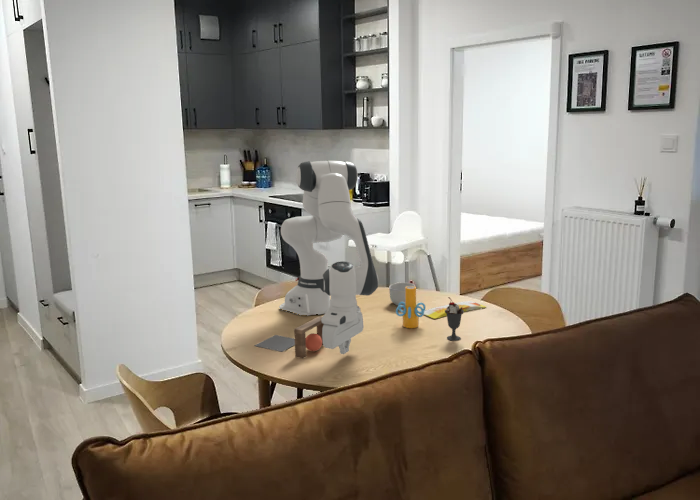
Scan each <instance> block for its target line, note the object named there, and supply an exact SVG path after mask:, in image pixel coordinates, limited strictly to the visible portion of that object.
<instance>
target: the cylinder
mask: <svg viewBox="0 0 700 500" xmlns="http://www.w3.org/2000/svg"><path fill="white" fill-rule="evenodd" d="M401 304H404V306H403V305H401ZM421 305H422V306H421ZM402 308H403V309H402ZM418 309H420V311H419V310H418ZM425 310H426V304H425V303H424V302H418V303H417V287H416V285H415V286H407V287H405V303H404V302H400V303H399V304H398V305H397V307H396V309H395V314H396V315H397V316H398V317H402V326H403V327H404V328H406V329H415V328H418V327H419V326H420V325H419V324H420V323H419V321H420V320H419V318H422V317H423V316H425V315H424V311H425ZM399 311H400V312H401V314H400V313H399Z"/></svg>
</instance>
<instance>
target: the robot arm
mask: <svg viewBox="0 0 700 500" xmlns="http://www.w3.org/2000/svg"><path fill="white" fill-rule="evenodd" d="M358 176H359V174H358V170H357V167H356V165H355V164H354V163H353V162H351V161H348V160H347V161H345V160H344V161H341V160H317V161H304V162H303V161H302V162H301V163H300V164H298V166H297V169H296V172H295V180H296V183H297V186H298V188H299V189H301V191H303V197H302V207H303V209H304V210H305V212H307V213H308V214H309V215H303V216H295V217H294V216H293V217H291V218H287V219H285V220H284V221H283V222H282V224H281V227H280V235H281V237H282V240H283V241H284V242H285V243H287V244H288V245H289V246H290V247H292V249H294V251H295V252H296V254H297V256H298V260H299V261H298V262H299V267H300V268H299V270H300V275H299V276H298V277H297V278H296V277H295V282H297V284H296V285H295V286H294V287H293V288H291V289H290V290H289V291H288V292H286V294H285V296H284V302H283V303H281V304H280V305H279V307H278V309H279V308H280V309H283V310H287V311H290V312H294V313H297V314H296V315H298V314H300V315H299V316H301V315H307V316H313V315H316V314H318V315H323V316H321V317H322V319H321V321H322V323H323V324H324V325H323V328H322V340H323V345H324V346H323V345H322V346H323V347H324V348H325V349H329V350H333V349H336V348H337V347H338V348H339V353H340V355H345V354H347V353H349V352H350V345H351V342H352V338H354V337H356V336H357V335H359V334H360V333H362V332H363V331H364V317H363V312H362V310H361V307H360V306H359V305H358V301H357V297H356V296H358V295H359V296H371V295H372V294H374V293H375V292H376V290H377V289H378V287H379V276H378V273H377V272H376V267H375V265H374V262H373V258H372V253H371V250H370V246H369V242H368V237H367V235H366V230H365V227H364V224H363V223H362V220H361V219H359V218H357V217H356V216H355V214H354V212H353V210H352V206H351V195H350V191H351V190H353V189H354V188H355V187H356V186H357V182H358V178H359V177H358ZM343 236H345V237H348V238H349V239H351V240H352V241H353V243H354V245H355V248H356V253H357V256H358V260H359V265H356V266H355V265H354V264H353V263H352V262H348V261H343V260H342V261H336V262H334V263H332V264H331V266H330V267H329V264H328V263H329V262H328V258H327V255H326V254H325V253H323V252H322V251H320V250H317V249H314V244H319V243H328V242H333V241H336V240H339V239H341V238H342V237H343ZM280 309H279V310H280ZM283 310H282V311H283ZM287 311H286V312H287ZM290 312H289V313H290ZM294 313H293V314H294Z"/></svg>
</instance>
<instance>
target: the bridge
mask: <svg viewBox="0 0 700 500" xmlns="http://www.w3.org/2000/svg"><path fill="white" fill-rule="evenodd" d="M322 317H323V316H321V315H320V316H317V317H315V318H313V319H312V320H309V321H307V322H305V323H303V324H301V325H300V326H298V327H296V328H294V330H293V331H294V339H295V345H294V357H295V358H297V359H298V358H299V359H304V358H306V357H307V348H306V337H307V336H306V333H307V332H308V331H310V330H312V329H314V328H316V334H318V335H319V336H320V337H321V339H322V328H323V325H324V324H323V323H322V321H321V319H322ZM322 346H323V347H324V345H323V340H322Z"/></svg>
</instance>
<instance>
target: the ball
mask: <svg viewBox="0 0 700 500" xmlns="http://www.w3.org/2000/svg"><path fill="white" fill-rule="evenodd" d="M322 346H323V345H322V339H321V337H320V336H319V335H318V334H317V333H310V334H308V335H307V336H306V350H308V351H310V352H316V351H319V350H320V349H321V348H322Z"/></svg>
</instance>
